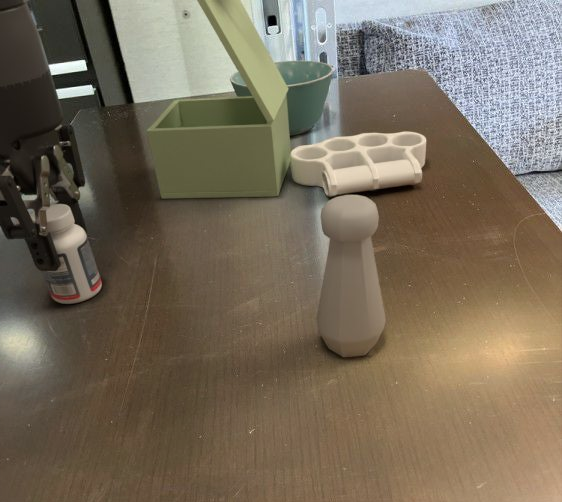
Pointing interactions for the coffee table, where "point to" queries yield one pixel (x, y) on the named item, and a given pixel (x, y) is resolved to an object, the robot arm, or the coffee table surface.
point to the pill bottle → (70, 258)
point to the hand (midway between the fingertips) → (63, 251)
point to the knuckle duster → (360, 162)
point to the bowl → (298, 91)
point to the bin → (219, 149)
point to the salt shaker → (350, 278)
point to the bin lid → (247, 53)
